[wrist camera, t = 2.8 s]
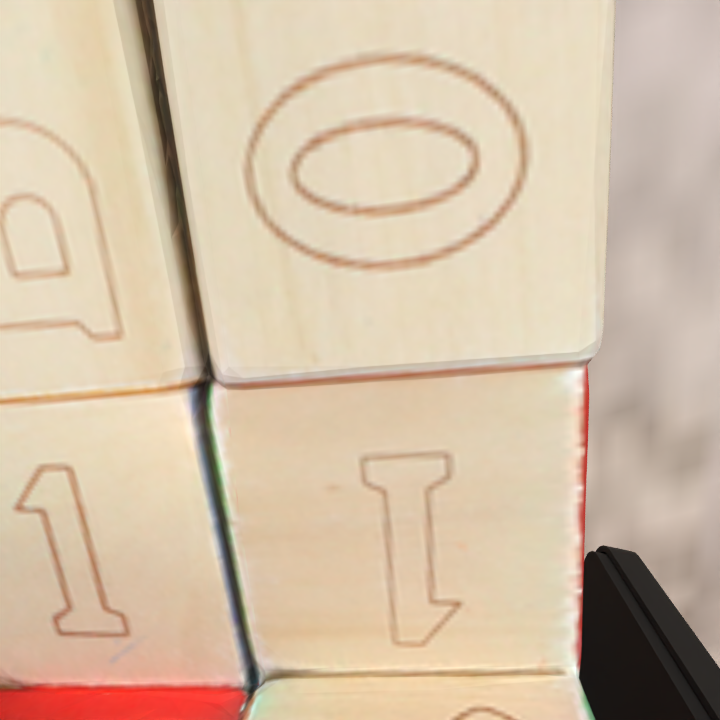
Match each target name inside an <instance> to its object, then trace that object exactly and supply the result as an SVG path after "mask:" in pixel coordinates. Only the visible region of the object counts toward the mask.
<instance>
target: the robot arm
mask: <svg viewBox="0 0 720 720" xmlns="http://www.w3.org/2000/svg"><path fill="white" fill-rule="evenodd" d="M579 680H580V683H581V685H582V688H583V690H584V693H585V695H586V698H587V700H588V703H589V705H590V708H591V710H592V713H593V715H594V718H595V720H720V668H719V667H718V665H717V664H716V663H715V661H714V660H713V658H712V657H711V656H710V654H709V653H708V651H707V650H706V649H705V647H704V646H703V645H702V643H701V642H700V640H699V639H698V638H697V636H696V635H695V633H694V632H693V631H692V629H691V628H690V627H689V625H688V624H687V622H686V621H685V620H684V618H683V617H682V615H681V614H680V613H679V611H678V610H677V609H676V607H675V606H674V604H673V603H672V602H671V600H670V599H669V597H668V596H667V595H666V593H665V592H664V591H663V589H662V588H661V586H660V585H659V584H658V582H657V581H656V579H655V578H654V577H653V575H652V574H651V572H650V571H649V570H648V568H647V567H646V566H645V564H644V563H643V561H642V560H641V559H640V557H639V556H638V555H637V554H636V553H635V552H632V551H627V550H622V549H618V548H613V547H608V546H600V547H599V548H598V549H597V550H596V552H594V551H591V552H589V553H588V554H587V556H586V558H585V560H584V575H583V608H582V647H581V662H580V671H579Z"/></svg>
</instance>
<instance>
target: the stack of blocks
mask: <svg viewBox="0 0 720 720" xmlns="http://www.w3.org/2000/svg"><path fill="white" fill-rule="evenodd" d="M615 9H616V0H0V720H595V718H594V715H593V713H592V710H591V708H590V705H589V703H588V700H587V698H586V695H585V693H584V690H583V688H582V685H581V683H580V680H579V671H580V662H581V647H582V608H583V575H584V538H585V501H586V473H587V447H588V416H589V385H588V368H587V364H588V363H589V362H590V361H591V359H592V358H593V357H594V356H595V354H596V353H597V352H598V351H599V350H600V345H601V340H602V336H603V316H604V293H605V270H606V247H607V224H608V201H609V178H610V153H611V125H612V96H613V67H614V38H615Z"/></svg>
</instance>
